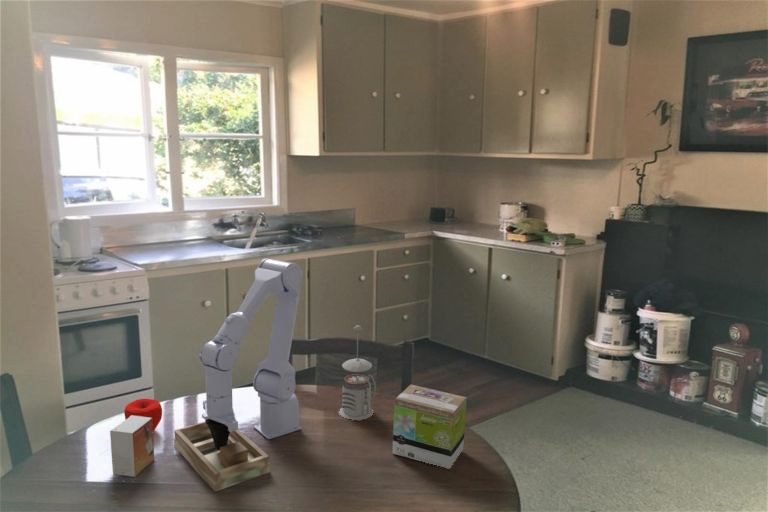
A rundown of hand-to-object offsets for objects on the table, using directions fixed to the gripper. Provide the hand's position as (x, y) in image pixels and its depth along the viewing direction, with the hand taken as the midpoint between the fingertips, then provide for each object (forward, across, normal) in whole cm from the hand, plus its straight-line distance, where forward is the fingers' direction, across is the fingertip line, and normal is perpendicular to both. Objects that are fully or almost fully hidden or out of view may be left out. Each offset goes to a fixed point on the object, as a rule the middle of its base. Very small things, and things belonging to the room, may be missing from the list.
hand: (220, 447), depth 141 cm
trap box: (+3, 0, 0) cm, 3 cm away
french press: (+3, 0, +40) cm, 40 cm away
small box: (+3, -9, -17) cm, 19 cm away
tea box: (+3, +27, +41) cm, 49 cm away
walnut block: (+1, +7, 0) cm, 7 cm away
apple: (+3, -24, -10) cm, 26 cm away
